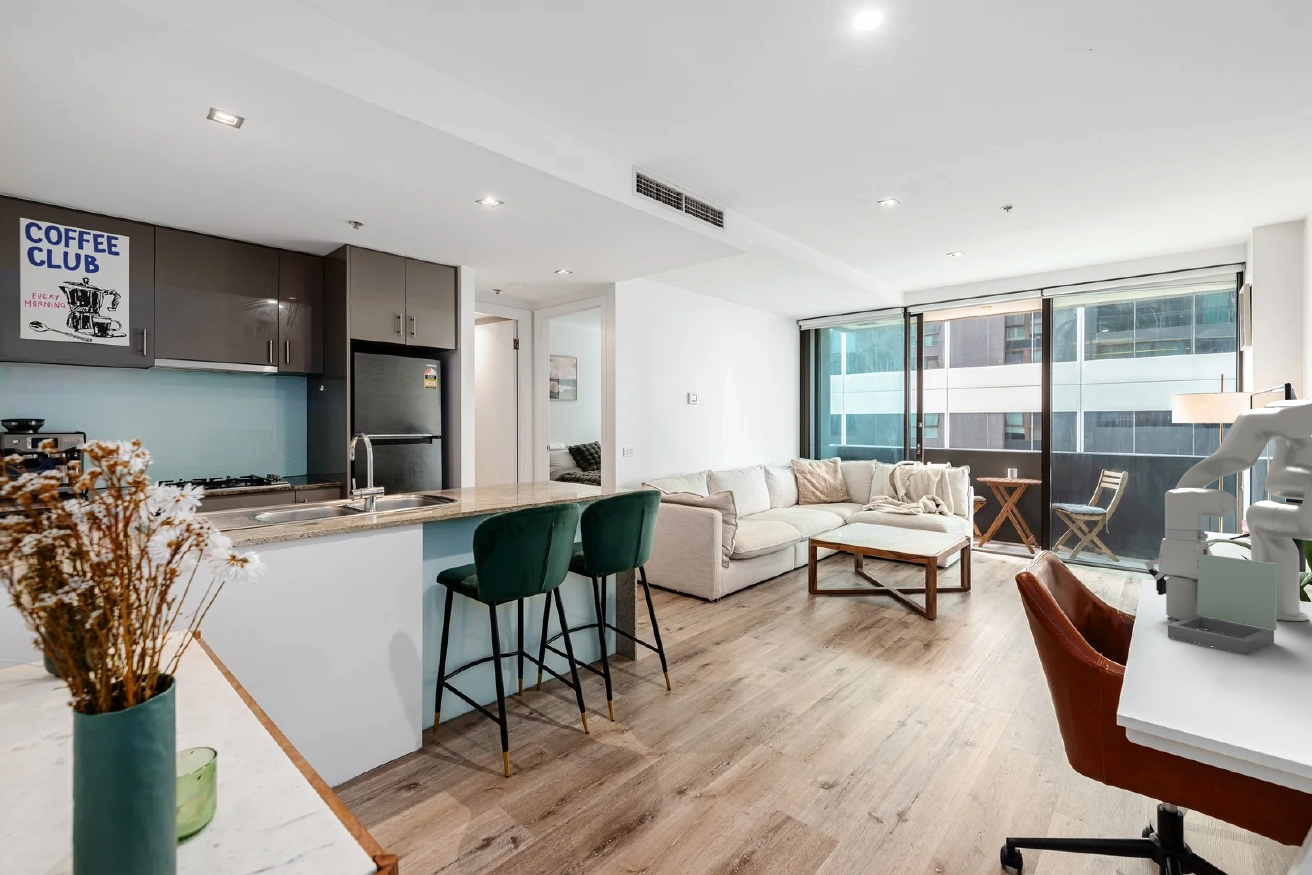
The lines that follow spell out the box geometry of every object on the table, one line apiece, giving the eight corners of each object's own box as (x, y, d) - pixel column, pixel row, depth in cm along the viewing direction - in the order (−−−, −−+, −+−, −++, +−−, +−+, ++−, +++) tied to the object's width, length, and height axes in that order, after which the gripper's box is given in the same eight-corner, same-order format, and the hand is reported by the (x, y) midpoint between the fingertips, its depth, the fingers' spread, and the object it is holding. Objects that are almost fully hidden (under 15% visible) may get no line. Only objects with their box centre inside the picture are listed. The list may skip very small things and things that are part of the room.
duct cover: (1196, 614, 164) (1199, 614, 164) (1274, 630, 150) (1276, 629, 151) (1198, 553, 164) (1200, 553, 165) (1275, 563, 151) (1277, 563, 151)
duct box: (1196, 626, 163) (1196, 615, 163) (1273, 642, 150) (1273, 630, 150) (1167, 636, 156) (1167, 624, 156) (1246, 655, 142) (1246, 641, 142)
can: (1203, 625, 164) (1203, 580, 164) (1167, 620, 169) (1166, 576, 169) (1201, 618, 170) (1200, 574, 170) (1165, 613, 175) (1165, 571, 175)
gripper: (1229, 538, 164) (1230, 603, 164) (1151, 530, 179) (1152, 589, 179) (1217, 541, 160) (1217, 607, 160) (1139, 532, 175) (1139, 593, 175)
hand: (1183, 598), depth 169 cm, fingers open, 9 cm apart
